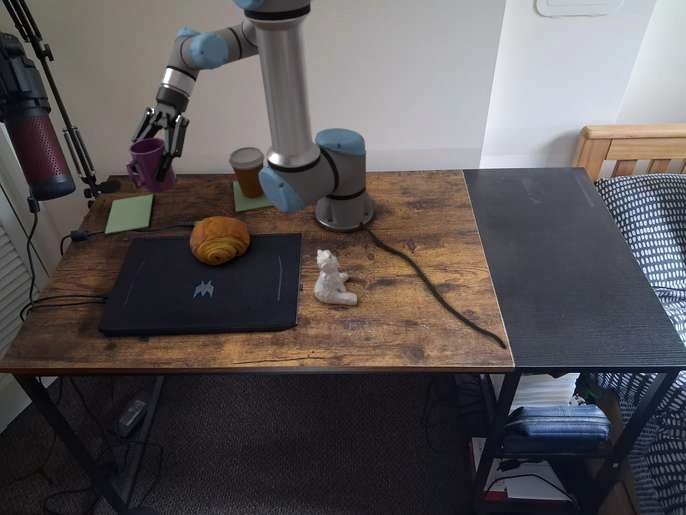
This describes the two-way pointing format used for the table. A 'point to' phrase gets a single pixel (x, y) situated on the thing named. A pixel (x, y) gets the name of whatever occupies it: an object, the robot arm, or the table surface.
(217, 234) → the croissant
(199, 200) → the table surface
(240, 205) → the cup mat
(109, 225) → the mug mat
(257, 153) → the disposable coffee cup
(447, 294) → the table surface
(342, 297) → the white creature statuette
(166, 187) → the plum mug
